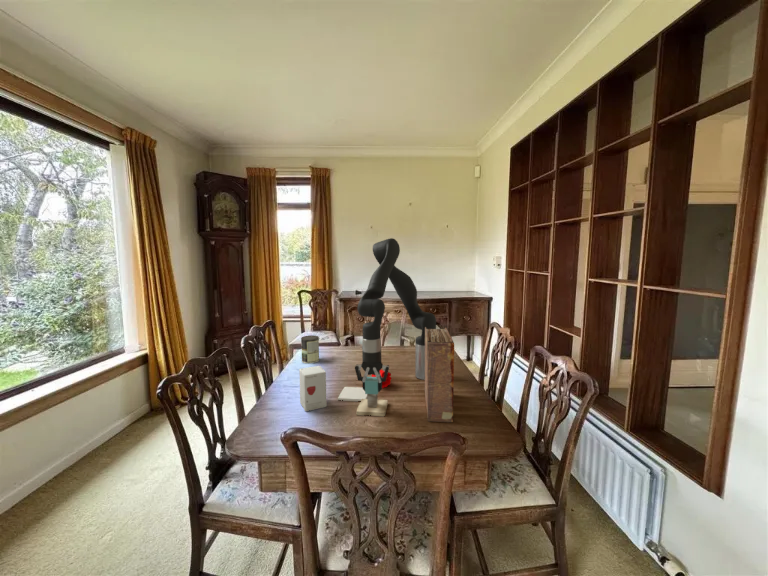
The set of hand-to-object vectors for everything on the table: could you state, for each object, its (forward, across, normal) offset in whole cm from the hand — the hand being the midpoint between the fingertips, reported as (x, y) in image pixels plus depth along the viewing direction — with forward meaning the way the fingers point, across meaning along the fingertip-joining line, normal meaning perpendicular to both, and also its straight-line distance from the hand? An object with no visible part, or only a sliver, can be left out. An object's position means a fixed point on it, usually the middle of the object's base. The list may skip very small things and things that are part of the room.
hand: (372, 390), depth 126 cm
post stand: (+8, 0, 0) cm, 8 cm away
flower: (+8, 0, -24) cm, 25 cm away
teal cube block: (0, 0, 0) cm, 0 cm away
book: (+8, -26, -5) cm, 28 cm away
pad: (+8, +10, -12) cm, 17 cm away
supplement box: (+8, +25, -1) cm, 26 cm away
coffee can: (+8, +46, -56) cm, 73 cm away
